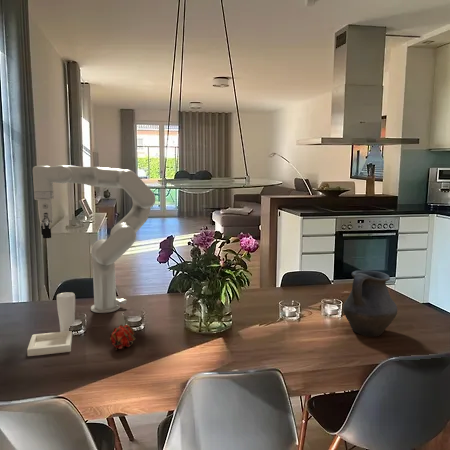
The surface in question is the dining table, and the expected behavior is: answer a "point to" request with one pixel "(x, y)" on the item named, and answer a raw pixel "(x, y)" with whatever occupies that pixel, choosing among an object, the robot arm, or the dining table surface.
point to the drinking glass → (66, 310)
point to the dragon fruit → (122, 336)
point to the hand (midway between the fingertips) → (46, 236)
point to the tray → (50, 343)
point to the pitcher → (369, 303)
